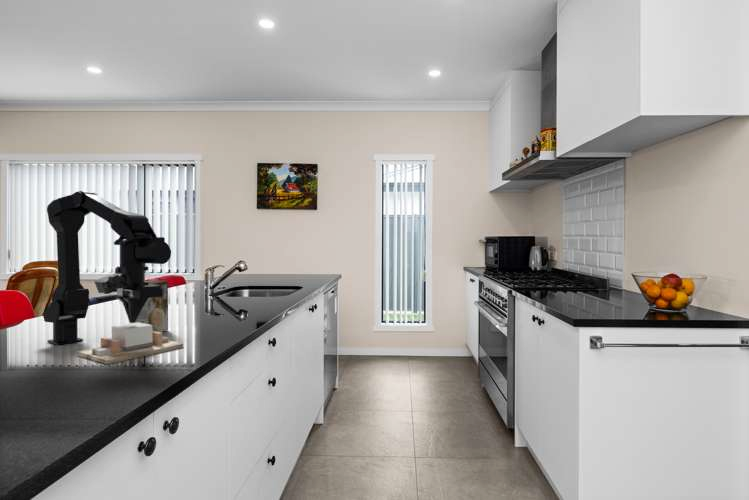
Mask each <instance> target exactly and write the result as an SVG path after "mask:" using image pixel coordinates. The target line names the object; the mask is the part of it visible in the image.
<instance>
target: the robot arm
mask: <svg viewBox="0 0 749 500" xmlns="http://www.w3.org/2000/svg"><path fill="white" fill-rule="evenodd" d="M46 212H47V216H48V217H47V218H48V223H49V225H50V226H51V227H52V228H53V230H54V231H55V232H56V248H57V250H56V252H57V253H56V254H57V274H58V275H57V276H58V277H57V278H58V280H57V281H58V285H57V286H56V288H55V289H54V291H53V292H52V294H51V303H50V304H49V305H48V307H47V308H46V310H45V311H44V313H42V316H43V319H44V320H43V321H44V323H52V338H51V339H47V342H48V343H50V344H53V345H58V346H59V345H65V344H71V343H77V342H83V341H84V338H82V337H78V336H79V335H78V332H79V331H78V330H79V328H78V327H79V326H78V321H79V319H85V318H86V316H87V313H88V309H89V305H90V303H91V300H90V290H89V289H88V288H85V287H84V286H83V285H82V283H81V274H80V273H81V272H80V270H81V269H80V268H81V267H80V248H79V246H80V245H79V232H80V230H81V229H82V226H83V225H84V224H85V218H86V217H85V216H87V215H90V213H92V214H94V215H96V216H98V217H99V218H100V219H102V220H104V221H106V222H108V223H109V224H110V228H111V230H112V231H114V232H115V234H117V235H118V236H119V237H118V239H116V240H115V241H114V242H113V244H114V245H115V246H119V266H116V268H114V273H111V274H108V275H106V276H103V277H100V278H98V279H95V280H94V281H93V282H94V284H95V286H96V289H97V292H98V294H101V293H102V294H104V295H109V294H112V293H117V294H116V295H114V298H115V299H117V300H118V301H120V302H121V303H122V306H123V307H124V310H125V313H126V316H127V319H128V322H129V324H131V323H134V322H135V321H136V319H137V318H138V316H139V314H140V312H141V310H142V308H143V306H144V305H145V303H146V301H147V300H148V298H152V297H161V296H163V288H162V287H161V286H159V285H148V282H145V281H146V276H145V275H146V271H149V266H146V264H150V265H151V264H152V265H153V264H154V265H164V264H166V263H168V262H169V260H170V258H171V256H172V250H171V247H170V245H169V244H168V243H167V242H166V241H165V240H166V239H165V237H164V236H163V237H161V236H157V235H156V233H155V230H154V229H153V227H152V226H151V224H150V222H149V218H148V217H147V216H146V215H143V214H140V213H136V212H132V211H127V210H124V209H122V208H120V207H119V206H117V205H115V204H114V203H111V202H110V201H108V200H107V199H105V198H103V197H102V196H99V194H98V193H96V192H94V191H84V190H78V191H76V192H74V193H72V194H70V195H65V196H62V197H59V198H56V199H54V200H52V201H51V202H50V203H49V204H48V205H47V207H46Z"/></svg>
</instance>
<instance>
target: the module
mask: <svg viewBox="0 0 749 500" xmlns="http://www.w3.org/2000/svg"><path fill="white" fill-rule="evenodd" d="M111 338H112V339H116V340H120V346H122V347H124V351H130V350H135V349H139V348H144V347H149V346H152V325H149V324H144V323H139V322H137V323H125V324H119V325H118V324H117V325H112V326H111Z"/></svg>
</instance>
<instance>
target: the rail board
mask: <svg viewBox="0 0 749 500" xmlns="http://www.w3.org/2000/svg"><path fill="white" fill-rule="evenodd" d="M182 348H184V343H182V342H177V341H174V340H173V341H172V340H169V336H164V335H163V332H156V331H152V346H149V347H144V348H139V349H135V350H130V351H124V347H122V346H120V340H116V339H112V337H107V336H104V337H101V338H100V346H99V347H93V348H88V349H83V350H78V351H76V355H77V356H78V357H82V358H84V359H87V358H88V359H89V360H90V359H91V361H94V362H97V361H98V362H97V363H100V362H101V364H103V363H104V365H106V364H107V365H110V364H115V363H119V362H124V361H128V359H129V360H133V358H134V359H137V357H138V358H142V356H143V357H146V356H151V355H156V354H160V353H165V352H169V351H174V350H177V349H182ZM88 359H87V360H88Z"/></svg>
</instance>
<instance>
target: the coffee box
mask: <svg viewBox="0 0 749 500" xmlns="http://www.w3.org/2000/svg"><path fill="white" fill-rule="evenodd" d="M145 282H148V285H159V286H161V287H162V288H163V296H161V297H152V298H148V300H147V301H146V303H145V305H144V306H143V308H142V310H141V312H140V314H139V316H138V318H137V319H136V321H135V322H134V323H137V322H139V323H144V324H149V325H152V331H156V332H161V333H164V332H163V331H165V332H167V330H168V331H169V281H168V280H147V281H146V280H145Z"/></svg>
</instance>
